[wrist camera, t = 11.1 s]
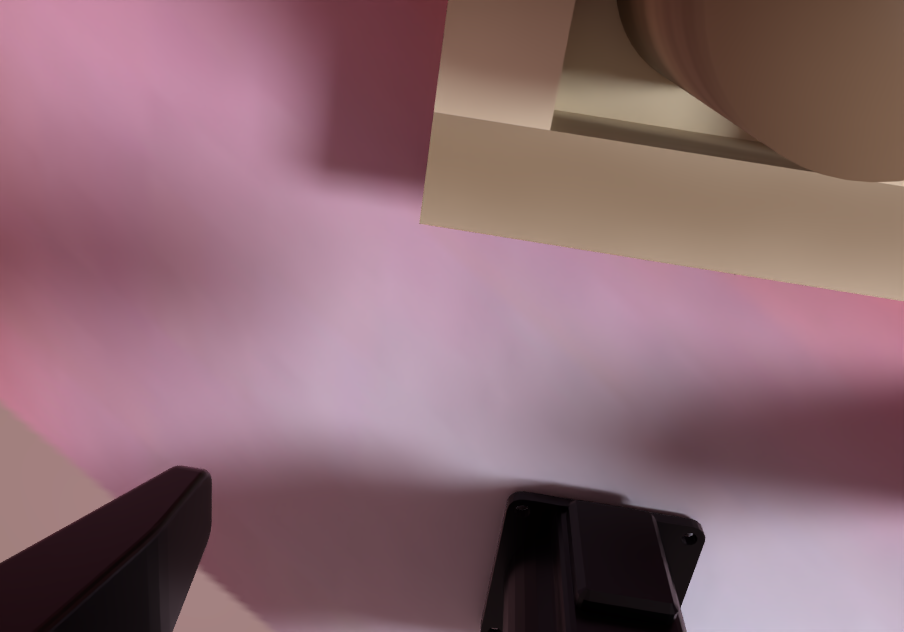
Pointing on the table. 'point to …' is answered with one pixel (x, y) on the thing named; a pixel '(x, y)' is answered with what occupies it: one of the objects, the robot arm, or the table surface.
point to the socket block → (632, 159)
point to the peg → (789, 74)
